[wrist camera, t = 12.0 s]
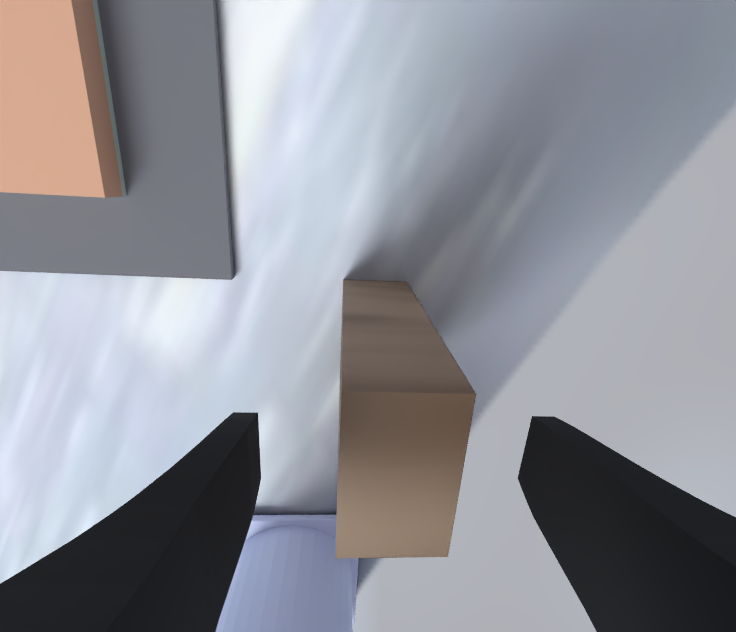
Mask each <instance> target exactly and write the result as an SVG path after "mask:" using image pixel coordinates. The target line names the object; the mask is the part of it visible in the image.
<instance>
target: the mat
mask: <svg viewBox="0 0 736 632" xmlns="http://www.w3.org/2000/svg"><path fill="white" fill-rule="evenodd" d="M97 3H98V9H99V16H100V22H101V29H102V36H103V42H104V49H105V55H106V62H107V69H108V75H109V82H110V88H111V95H112V102H113V108H114V115H115V121H116V128H117V134H118V141H119V148H120V154H121V161H122V167H123V174H124V181H125V187H126V194H127V196H124V197H108V198H101V197H82V196H63V195H45V194H26V193H7V192H0V271H21V272H47V273H72V274H98V275H124V276H150V277H175V278H201V279H227V280H232V279H233V278H234V267H233V252H232V237H231V221H230V206H229V191H228V176H227V160H226V145H225V130H224V114H223V99H222V84H221V68H220V53H219V38H218V22H217V7H216V0H97Z"/></svg>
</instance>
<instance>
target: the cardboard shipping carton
mask: <svg viewBox="0 0 736 632" xmlns="http://www.w3.org/2000/svg"><path fill="white" fill-rule="evenodd" d="M475 397H476V393H475V391H474V390H473V388H472V386H471V385H470V383H469V382H468V380H467V378H466V377H465V375H464V374H463V372H462V370H461V369H460V367H459V365H458V364H457V362H456V361H455V359H454V357H453V356H452V354H451V353H450V351H449V349H448V348H447V346H446V345H445V343H444V341H443V340H442V338H441V336H440V335H439V333H438V332H437V330H436V328H435V327H434V325H433V324H432V322H431V320H430V319H429V317H428V316H427V314H426V312H425V311H424V309H423V307H422V306H421V304H420V303H419V301H418V299H417V298H416V296H415V295H414V293H413V291H412V290H411V288H410V287H409V285H408V283H407V282H394V281H368V280H343V306H342V335H341V364H340V401H339V440H338V480H337V520H336V558H391V557H392V558H393V557H395V558H397V557H447V556H448V553H449V547H450V542H451V536H452V530H453V524H454V519H455V513H456V507H457V501H458V495H459V489H460V484H461V478H462V472H463V467H464V461H465V454H466V449H467V444H468V438H469V432H470V426H471V420H472V415H473V409H474V403H475Z"/></svg>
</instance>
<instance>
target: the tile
mask: <svg viewBox="0 0 736 632" xmlns="http://www.w3.org/2000/svg"><path fill="white" fill-rule="evenodd" d="M0 192H7V193H26V194H45V195H63V196H82V197H101V198H108V197H124V196H127V194H126V187H125V181H124V174H123V167H122V161H121V154H120V148H119V141H118V134H117V128H116V121H115V115H114V108H113V102H112V95H111V88H110V82H109V75H108V69H107V62H106V55H105V49H104V42H103V36H102V29H101V22H100V16H99V9H98V3H97V0H0Z"/></svg>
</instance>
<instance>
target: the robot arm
mask: <svg viewBox="0 0 736 632" xmlns="http://www.w3.org/2000/svg"><path fill="white" fill-rule="evenodd" d="M260 480H261V469H260V448H259V428H258V413H232V414H231V415H230V416H229V417H228V418H226V419H225V420H224V421H223V422H222V423H221V424H220V425H219V426H217V427H216V428H215V429H214V430H213V431H212V432H211V433H210V434H209V435H208V436H207V437H205V438H204V439H203V440H202V441H201V442H200V443H199V444H198V445H197V446H195V447H194V448H193V449H192V450H191V451H190V452H189V453H187V454H186V455H185V456H184V457H183V458H182V459H180V460H179V461H178V462H177V463H176V464H175V465H174V466H172V467H171V468H170V469H169V470H168V471H166V472H165V473H164V474H163V475H161V476H160V477H159V478H158V479H156V480H155V481H154V482H153V483H151V484H150V485H149V486H147V487H146V488H145V489H144V490H142V491H141V492H140V493H139V494H137V495H136V496H135V497H133V498H132V499H131V500H129V501H128V502H127V503H125V504H124V505H123V506H121V507H120V508H118V509H117V510H116V511H114V512H113V513H112V514H110V515H109V516H107V517H106V518H104V519H103V520H101V521H100V522H98V523H97V524H95V525H94V526H93V527H91V528H90V529H88V530H87V531H85V532H84V533H82V534H81V535H79V536H78V537H76V538H75V539H73V540H72V541H70V542H68V543H67V544H65V545H63V546H62V547H60V548H58V549H57V550H55V551H54V552H52V553H50V554H49V555H47V556H45V557H44V558H42V559H40V560H39V561H37V562H36V563H34V564H32V565H31V566H29V567H27V568H26V569H24V570H22V571H21V572H19V573H18V574H16V575H14V576H13V577H11V578H9V579H8V580H6V581H4V582H3V583H1V584H0V632H352V626H353V624H354V620H355V605H356V589H357V574H358V558H336V520H337V515H253V514H254V509H255V504H256V500H257V495H258V490H259V485H260ZM518 480H519V482H520V485H521V488H522V490H523V493H524V495H525V498H526V500H527V503H528V505H529V507H530V510H531V512H532V515H533V517H534V519H535V520H536V522H537V524H538V526H539V528H540V530H541V531H542V533H543V535H544V537H545V539H546V541H547V542H548V544H549V546H550V548H551V549H552V551H553V553H554V555H555V557H556V558H557V560H558V562H559V564H560V565H561V567H562V569H563V571H564V573H565V574H566V576H567V578H568V580H569V581H570V583H571V585H572V587H573V589H574V590H575V592H576V594H577V596H578V598H579V599H580V601H581V603H582V605H583V606H584V608H585V610H586V612H587V614H588V616H589V618H590V620H591V622H592V623H593V625H594V627H595V629H596V631H597V632H736V517H734V516H731V515H730V514H727V513H725V512H723V511H721V510H719V509H717V508H715V507H713V506H711V505H709V504H707V503H706V502H703V501H702V500H700V499H698V498H696V497H694V496H692V495H691V494H689V493H687V492H685V491H683V490H681V489H680V488H678V487H676V486H674V485H672V484H670V483H669V482H667V481H665V480H663V479H661V478H660V477H658V476H656V475H654V474H653V473H651V472H649V471H647V470H646V469H644V468H642V467H641V466H639V465H637V464H635V463H634V462H632V461H630V460H629V459H627V458H625V457H624V456H622V455H620V454H619V453H617V452H615V451H614V450H612V449H610V448H609V447H607V446H605V445H603V444H602V443H600V442H598V441H597V440H595V439H594V438H592V437H590V436H588V435H587V434H585V433H583V432H581V431H580V430H578V429H576V428H575V427H573V426H571V425H569V424H567V423H566V422H564V421H562V420H560V419H558V418H556V417H537V416H536V417H535V416H532V419H531V423H530V428H529V432H528V437H527V441H526V445H525V449H524V454H523V458H522V462H521V467H520V471H519V475H518Z"/></svg>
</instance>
